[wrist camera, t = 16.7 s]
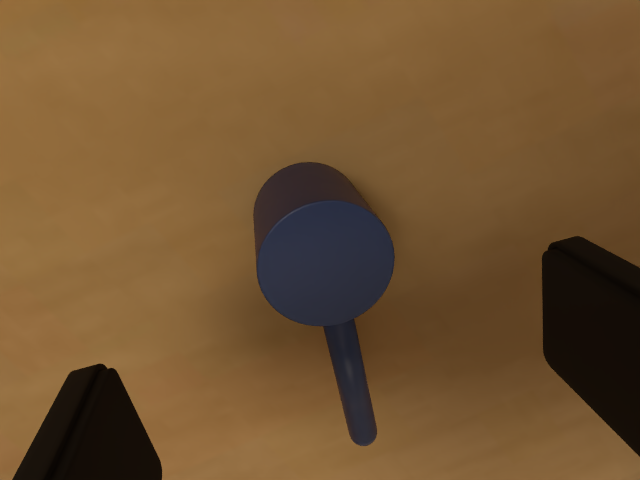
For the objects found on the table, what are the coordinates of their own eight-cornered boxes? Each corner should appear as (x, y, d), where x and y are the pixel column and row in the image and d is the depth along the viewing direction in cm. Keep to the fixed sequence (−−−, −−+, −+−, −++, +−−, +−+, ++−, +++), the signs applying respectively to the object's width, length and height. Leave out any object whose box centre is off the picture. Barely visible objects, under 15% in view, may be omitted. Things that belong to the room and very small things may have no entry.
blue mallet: (240, 176, 16) (239, 220, 12) (349, 150, 16) (384, 184, 12) (299, 381, 20) (313, 467, 16) (386, 358, 20) (422, 436, 16)
